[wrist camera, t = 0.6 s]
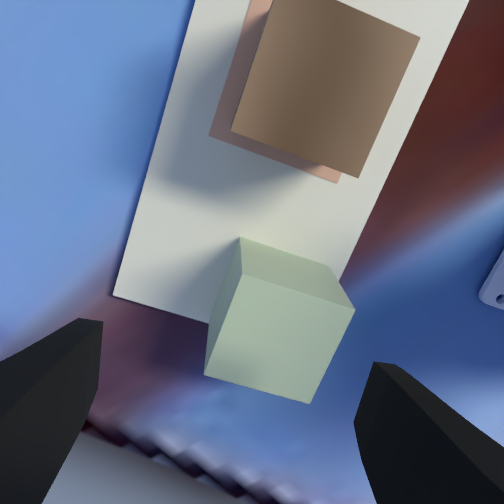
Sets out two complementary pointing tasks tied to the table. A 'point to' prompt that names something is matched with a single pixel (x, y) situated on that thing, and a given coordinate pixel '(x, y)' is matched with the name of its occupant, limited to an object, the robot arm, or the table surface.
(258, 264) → the sage block
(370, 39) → the walnut block
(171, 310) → the build mat
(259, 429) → the table surface
